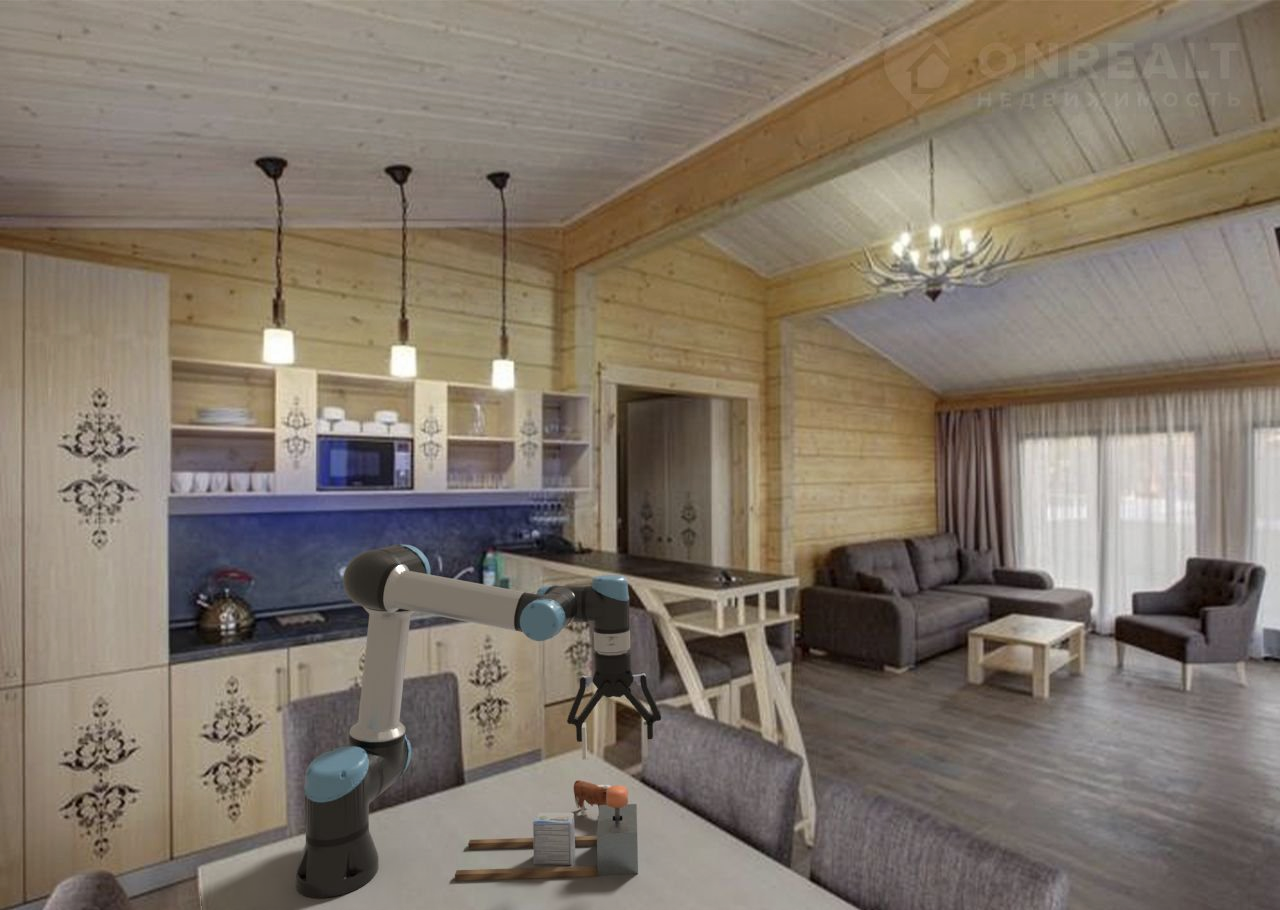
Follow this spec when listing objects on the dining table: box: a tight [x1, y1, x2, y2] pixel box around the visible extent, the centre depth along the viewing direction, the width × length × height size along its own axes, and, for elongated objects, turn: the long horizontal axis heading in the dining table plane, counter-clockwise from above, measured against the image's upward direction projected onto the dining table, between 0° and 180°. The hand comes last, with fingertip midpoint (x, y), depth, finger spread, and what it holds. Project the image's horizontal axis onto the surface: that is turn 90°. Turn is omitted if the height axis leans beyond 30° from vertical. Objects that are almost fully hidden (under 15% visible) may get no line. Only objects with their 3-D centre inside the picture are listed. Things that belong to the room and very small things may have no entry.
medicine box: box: [532, 812, 576, 866], centre depth 144 cm, size 8×4×9 cm, turn 85°
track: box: [454, 835, 599, 882], centre depth 144 cm, size 28×13×1 cm, turn 91°
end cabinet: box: [596, 803, 639, 876], centre depth 144 cm, size 8×12×8 cm, turn 1°
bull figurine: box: [573, 779, 612, 818], centre depth 162 cm, size 4×13×8 cm, turn 53°
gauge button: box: [606, 785, 629, 821], centre depth 145 cm, size 4×4×6 cm
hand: (615, 755), depth 145 cm, fingers open, 12 cm apart
